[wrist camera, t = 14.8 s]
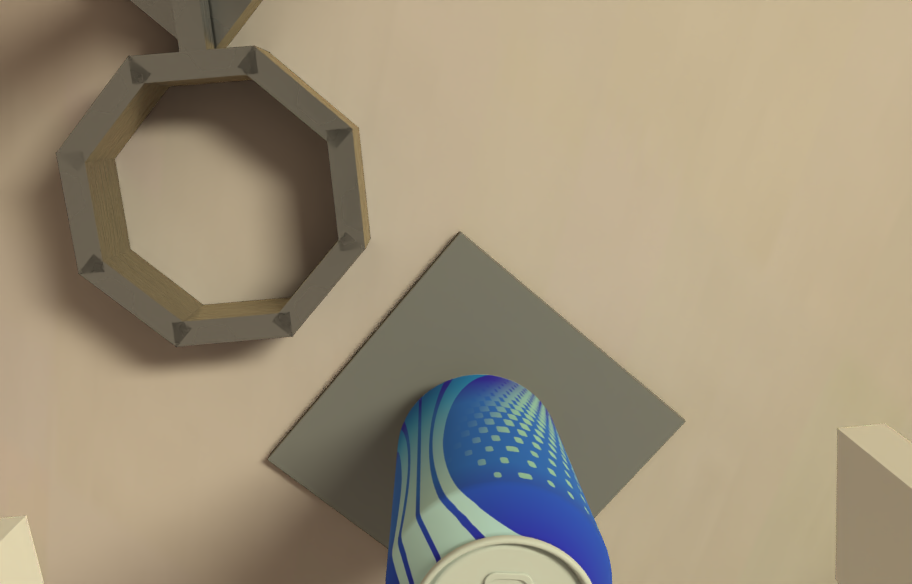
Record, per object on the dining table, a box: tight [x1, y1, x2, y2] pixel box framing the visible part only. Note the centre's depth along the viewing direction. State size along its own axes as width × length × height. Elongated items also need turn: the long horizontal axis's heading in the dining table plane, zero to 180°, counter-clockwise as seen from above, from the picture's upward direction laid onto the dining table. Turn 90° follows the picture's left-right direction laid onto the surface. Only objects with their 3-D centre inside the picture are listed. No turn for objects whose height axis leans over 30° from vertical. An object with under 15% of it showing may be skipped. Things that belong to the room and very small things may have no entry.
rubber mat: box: [268, 232, 685, 548], centre depth 43 cm, size 16×16×1 cm
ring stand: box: [56, 0, 371, 347], centre depth 29 cm, size 18×18×20 cm
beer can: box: [386, 374, 612, 584], centre depth 35 cm, size 8×8×16 cm
